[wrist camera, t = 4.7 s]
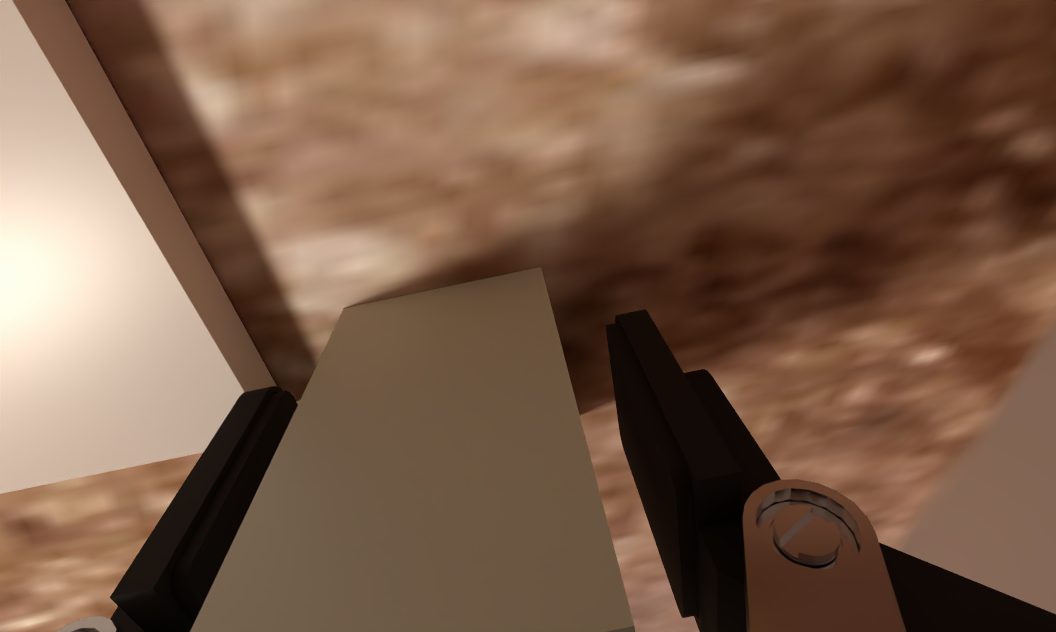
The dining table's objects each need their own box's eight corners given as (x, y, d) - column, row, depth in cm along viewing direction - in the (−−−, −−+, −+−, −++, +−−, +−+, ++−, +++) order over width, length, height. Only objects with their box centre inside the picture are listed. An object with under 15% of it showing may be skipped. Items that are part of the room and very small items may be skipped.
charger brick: (344, 308, 10) (148, 720, 4) (541, 266, 10) (633, 624, 4) (405, 453, 12) (334, 873, 6) (570, 419, 12) (662, 814, 6)
